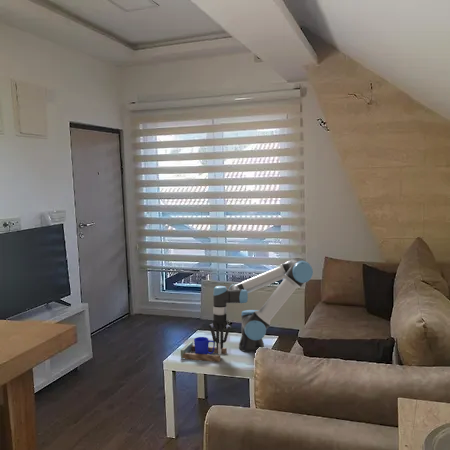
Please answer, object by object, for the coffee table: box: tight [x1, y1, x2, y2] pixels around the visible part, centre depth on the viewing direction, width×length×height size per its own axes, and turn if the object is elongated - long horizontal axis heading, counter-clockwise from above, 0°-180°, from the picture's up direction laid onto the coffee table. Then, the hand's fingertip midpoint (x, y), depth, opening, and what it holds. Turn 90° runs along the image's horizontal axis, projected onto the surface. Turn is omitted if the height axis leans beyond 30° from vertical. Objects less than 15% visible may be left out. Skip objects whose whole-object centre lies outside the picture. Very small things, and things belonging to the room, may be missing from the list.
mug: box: [193, 336, 216, 355], centre depth 272 cm, size 8×12×10 cm
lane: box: [180, 341, 227, 363], centre depth 273 cm, size 23×15×5 cm, turn 75°
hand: (219, 353), depth 270 cm, fingers closed
